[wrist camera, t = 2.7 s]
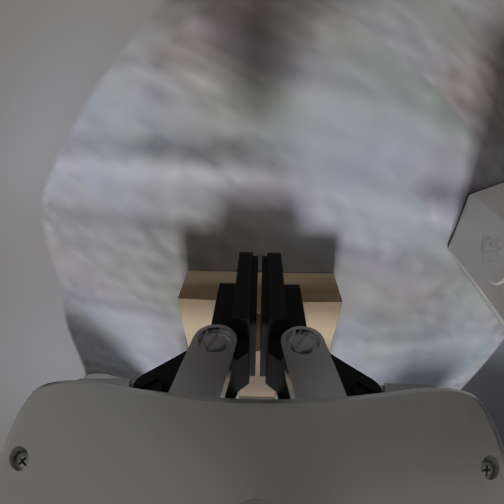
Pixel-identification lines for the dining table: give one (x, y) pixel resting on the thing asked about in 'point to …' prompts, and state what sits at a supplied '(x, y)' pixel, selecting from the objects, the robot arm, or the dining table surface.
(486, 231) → the jar
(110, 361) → the dining table surface
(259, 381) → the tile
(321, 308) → the board
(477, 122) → the dining table surface
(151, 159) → the dining table surface
